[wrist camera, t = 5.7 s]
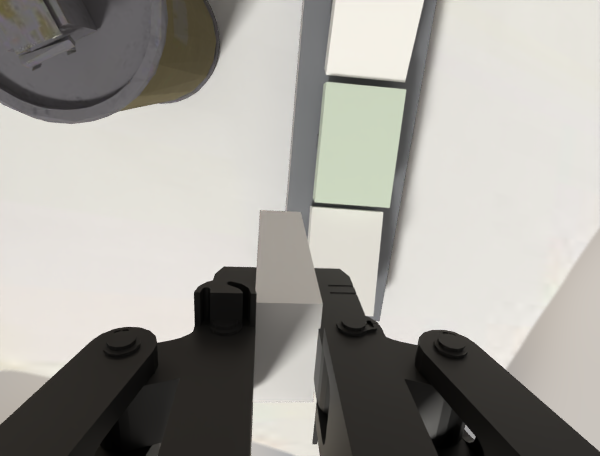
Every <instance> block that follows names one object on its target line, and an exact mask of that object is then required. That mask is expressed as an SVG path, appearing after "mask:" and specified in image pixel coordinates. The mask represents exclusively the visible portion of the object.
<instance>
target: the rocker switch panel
mask: <svg viewBox="0 0 600 456" xmlns="http://www.w3.org/2000/svg"><path fill="white" fill-rule="evenodd" d="M436 1H437V0H424V3H423V7H422V11H421V15H420V20H419V24H418V28H417V33H416V37H415V41H414V46H413V50H412V54H411V58H410V63H409V67H408V71H407V76H406V80H405V82H394V81H384V80H374V79H363V78H353V77H343V76H332V75H326V73H325V69H324V67H325V59H326V51H327V43H328V35H329V27H330V19H331V11H332V3H333V0H303V3H302V15H301V27H300V39H299V52H298V64H297V76H296V88H295V100H294V113H293V125H292V137H291V149H290V162H289V174H288V186H287V198H286V210H285V211H290V212H301V215H302V219H303V224H304V228H305V232H306V236H307V240H308V228H309V215H310V206H321V207H334V208H348V209H361V210H375V211H381V212H383V222H382V232H381V242H380V252H379V263H378V273H377V283H376V294H375V304H374V314H373V316H368V317H370V318H371V319H373V320H375V321H379V320H380V315H381V309H382V303H383V298H384V292H385V287H386V281H387V275H388V270H389V264H390V259H391V253H392V247H393V242H394V236H395V231H396V225H397V219H398V214H399V208H400V203H401V197H402V192H403V186H404V180H405V175H406V169H407V164H408V158H409V152H410V147H411V141H412V136H413V130H414V124H415V119H416V113H417V108H418V102H419V97H420V91H421V85H422V80H423V74H424V69H425V63H426V57H427V52H428V46H429V41H430V35H431V29H432V24H433V18H434V13H435V7H436ZM326 82H334V83H344V84H355V85H365V86H376V87H386V88H397V89H406V96H405V103H404V110H403V117H402V124H401V132H400V139H399V146H398V153H397V160H396V167H395V174H394V181H393V188H392V195H391V202H390V208H384V207H370V206H357V205H344V204H330V203H317V202H314V199H313V190H314V180H315V169H316V159H317V148H318V137H319V127H320V116H321V106H322V95H323V84H324V83H326Z"/></svg>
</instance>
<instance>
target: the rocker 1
mask: <svg viewBox="0 0 600 456" xmlns="http://www.w3.org/2000/svg"><path fill="white" fill-rule="evenodd" d="M423 3H424V0H333V3H332V11H331V19H330V27H329V35H328V43H327V51H326V59H325V67H324V69H325V73H326V75H332V76H343V77H353V78H363V79H374V80H384V81H394V82H405V80H406V76H407V71H408V67H409V63H410V58H411V54H412V50H413V46H414V41H415V37H416V33H417V28H418V24H419V20H420V15H421V11H422V7H423Z"/></svg>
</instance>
